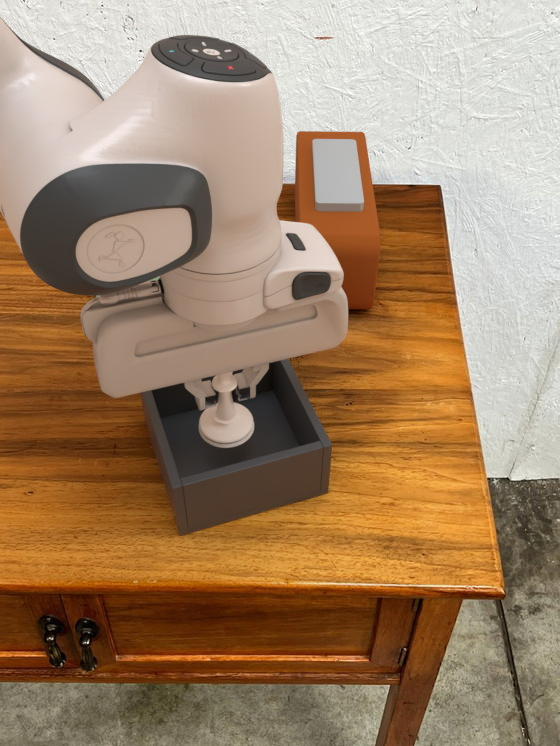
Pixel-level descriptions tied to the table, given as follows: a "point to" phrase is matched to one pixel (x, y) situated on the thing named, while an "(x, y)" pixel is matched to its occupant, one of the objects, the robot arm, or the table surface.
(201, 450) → the tub
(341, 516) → the table surface
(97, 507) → the table surface
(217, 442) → the chess piece
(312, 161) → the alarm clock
